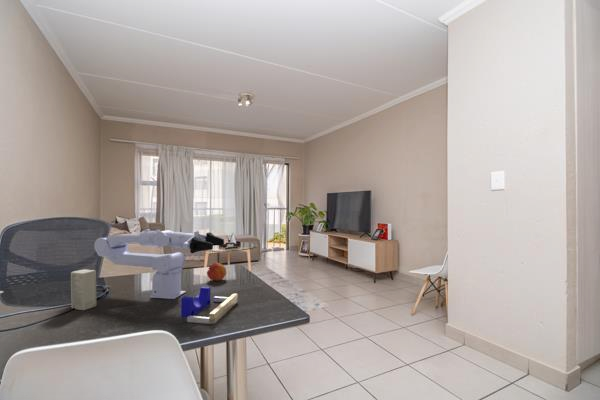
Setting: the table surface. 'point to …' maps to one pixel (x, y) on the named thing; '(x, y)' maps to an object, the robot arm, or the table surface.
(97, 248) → the robot arm
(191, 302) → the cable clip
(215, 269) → the fruit
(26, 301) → the table surface
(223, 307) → the frame
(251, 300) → the table surface
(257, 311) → the table surface
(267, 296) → the table surface
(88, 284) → the skincare box
